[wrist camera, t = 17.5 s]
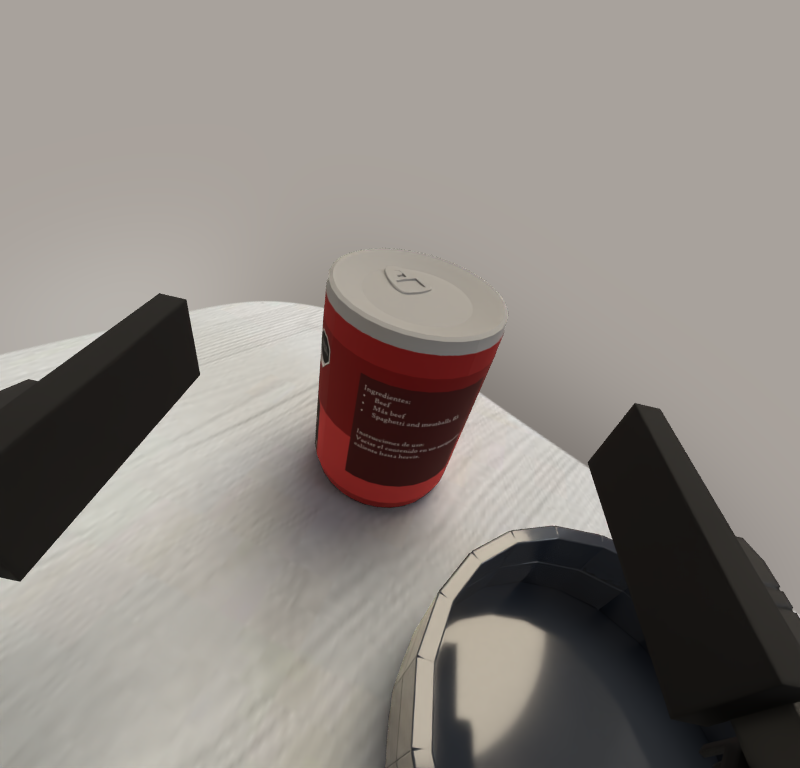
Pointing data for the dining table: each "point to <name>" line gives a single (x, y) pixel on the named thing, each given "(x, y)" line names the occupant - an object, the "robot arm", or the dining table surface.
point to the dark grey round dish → (537, 667)
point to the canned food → (400, 370)
